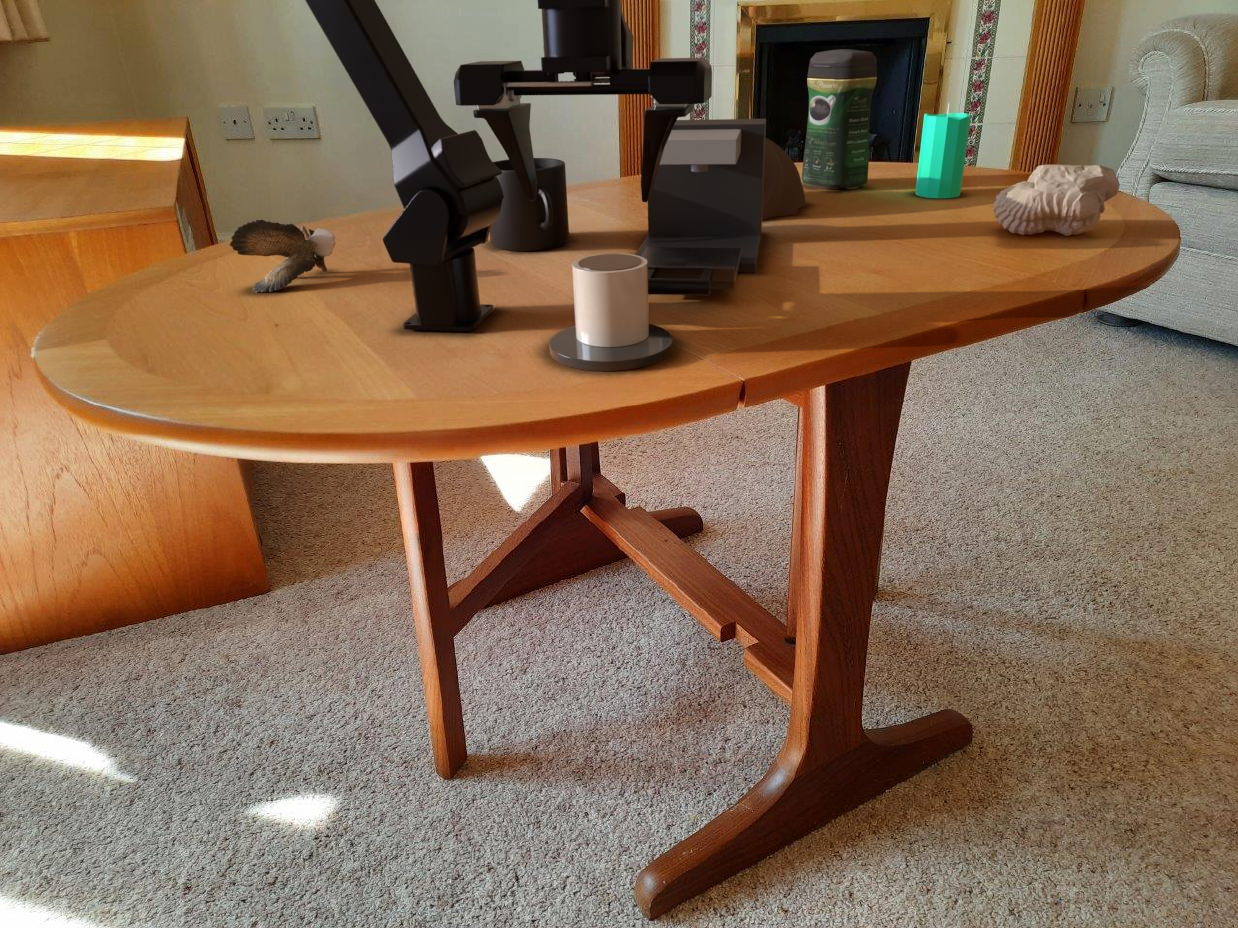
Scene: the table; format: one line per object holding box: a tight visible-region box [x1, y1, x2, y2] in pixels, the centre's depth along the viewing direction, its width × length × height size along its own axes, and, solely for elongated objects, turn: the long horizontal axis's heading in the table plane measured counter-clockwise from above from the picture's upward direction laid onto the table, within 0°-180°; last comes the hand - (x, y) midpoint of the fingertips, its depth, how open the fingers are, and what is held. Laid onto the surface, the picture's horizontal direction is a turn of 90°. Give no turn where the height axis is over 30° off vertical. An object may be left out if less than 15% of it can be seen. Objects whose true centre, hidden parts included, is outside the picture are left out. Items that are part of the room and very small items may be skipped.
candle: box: [914, 102, 972, 199], centre depth 122 cm, size 6×6×12 cm
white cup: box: [571, 252, 650, 347], centre depth 71 cm, size 6×6×6 cm
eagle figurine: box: [228, 219, 336, 293], centre depth 93 cm, size 8×7×9 cm
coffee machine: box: [634, 118, 767, 274], centre depth 97 cm, size 18×13×13 cm
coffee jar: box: [801, 48, 878, 190], centre depth 129 cm, size 10×8×19 cm
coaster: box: [548, 323, 674, 372], centre depth 72 cm, size 10×10×1 cm
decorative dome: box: [762, 137, 807, 221], centre depth 119 cm, size 19×20×10 cm
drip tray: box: [641, 247, 742, 296], centre depth 85 cm, size 18×10×2 cm, turn 170°
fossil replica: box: [992, 163, 1121, 237], centre depth 100 cm, size 12×8×10 cm
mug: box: [489, 157, 570, 252], centre depth 103 cm, size 9×12×9 cm
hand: (588, 200), depth 70 cm, fingers open, 9 cm apart
